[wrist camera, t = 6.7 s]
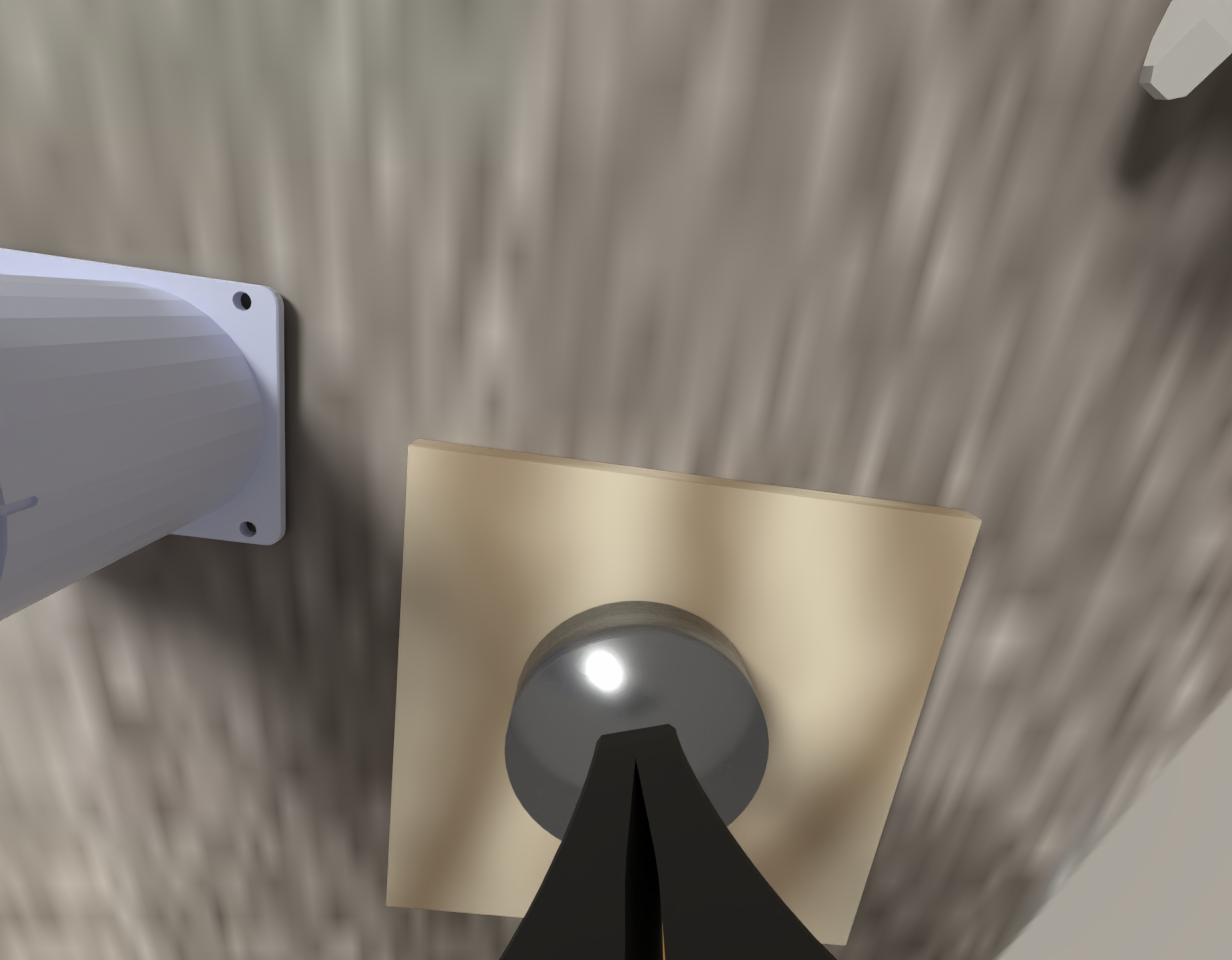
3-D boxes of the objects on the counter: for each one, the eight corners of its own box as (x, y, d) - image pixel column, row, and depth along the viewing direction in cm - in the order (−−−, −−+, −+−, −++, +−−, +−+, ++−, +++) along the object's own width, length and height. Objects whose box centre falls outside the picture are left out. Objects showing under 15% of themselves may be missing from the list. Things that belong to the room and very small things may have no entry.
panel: (394, 881, 24) (386, 905, 23) (418, 439, 19) (408, 445, 18) (836, 920, 25) (845, 945, 24) (963, 510, 20) (981, 520, 19)
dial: (486, 630, 19) (450, 727, 15) (729, 577, 19) (768, 659, 15) (582, 927, 23) (577, 1078, 18) (789, 886, 23) (836, 1030, 18)
